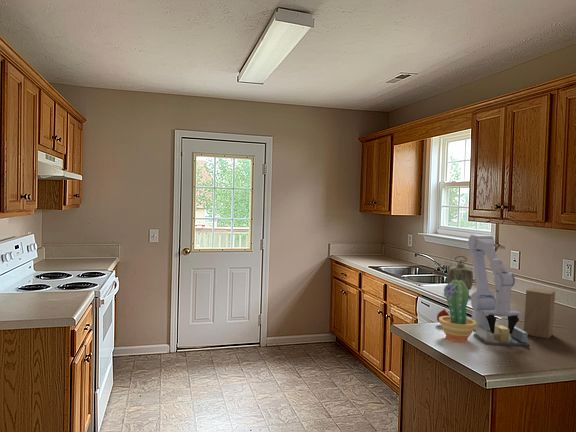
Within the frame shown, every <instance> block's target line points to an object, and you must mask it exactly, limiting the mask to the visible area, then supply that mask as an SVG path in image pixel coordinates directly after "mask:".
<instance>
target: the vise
mask: <svg viewBox="0 0 576 432" xmlns="http://www.w3.org/2000/svg"><path fill="white" fill-rule="evenodd" d="M473 337H475V338H476V339H478V340H479V341H481V342H482V343H483V344H485V345H490V346H517V347H518V346H519V347H530V343H529V342H528V341H527V342H521V341H519V340H517V339H516V338H514V337H512V336H511V335H510V334H509V341H500V340H499V339H497V338H495V337H494V333H492V332H491V331H489V330H488V329H486V328H484V327H483V326H481V325H476V331H475V333H473Z"/></svg>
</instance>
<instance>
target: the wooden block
mask: <svg viewBox="0 0 576 432" xmlns="http://www.w3.org/2000/svg"><path fill="white" fill-rule="evenodd" d="M525 291H526V292H525V303H524V304H525V305H524V306H525V307H524V320H523V321H524V322H523V331H525V332H527V333H528V335H527V336H532V337H536V338H542V339H545V340H549V339H550V338H551V337H552V335H553V334H554V332H553V330H554V315H555V301H556V300H555V298H556V291H555V290H550V289H542V288H536V287H530V288H529V289H527V290H525Z"/></svg>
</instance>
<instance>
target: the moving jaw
mask: <svg viewBox="0 0 576 432" xmlns="http://www.w3.org/2000/svg"><path fill="white" fill-rule="evenodd" d="M509 335H511V336H512V337H514V338H516V339H517V340H519V341H521V342H527V343H528V336H529V335H528V333H527V332H525V331H524V329H522V328H519V327H517V326H516V325H515V327H514V329H513V332H512V334H510V333H509Z"/></svg>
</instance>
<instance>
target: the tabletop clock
mask: <svg viewBox="0 0 576 432" xmlns="http://www.w3.org/2000/svg"><path fill="white" fill-rule="evenodd" d="M458 258H464V259H465V260H464V261H463V260H457V259H458ZM454 259H455V262H457V264H456V266H449V267H448V268H447V273H446V285H448V284H449V283H451V282H452V280H454V281H455V280H458V281H460V280H462V281H463V282H464V283H465V285H466V286H467V288H468V290H469V291H470V290H471V289H472V287H473V282H474V275H473V273H474V271H473V270H472V269H470V268H468V267H466V266H465V264H464V263H466V262H467V257H466V256H463V255H458V256H456V257H455V258H454Z"/></svg>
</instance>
